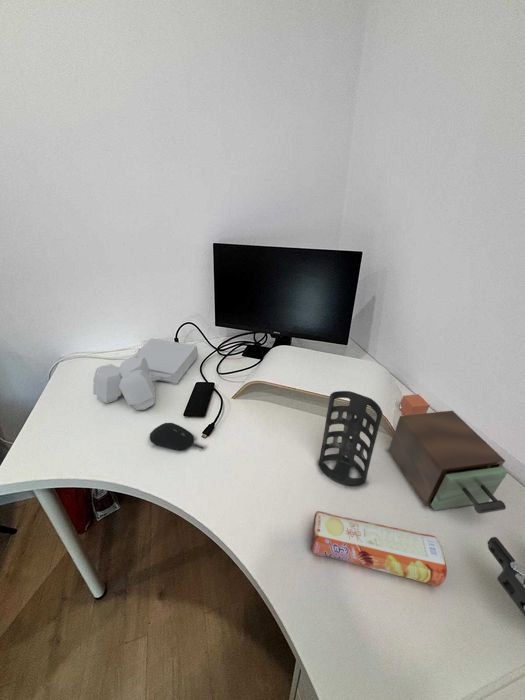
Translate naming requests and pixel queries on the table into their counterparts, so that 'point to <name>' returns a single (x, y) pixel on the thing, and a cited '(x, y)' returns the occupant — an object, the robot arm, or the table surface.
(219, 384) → the table surface
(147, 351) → the game console
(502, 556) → the robot arm
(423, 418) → the cabinet
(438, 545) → the snack package
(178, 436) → the gaming mouse
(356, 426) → the holder
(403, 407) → the block
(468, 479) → the drawer
